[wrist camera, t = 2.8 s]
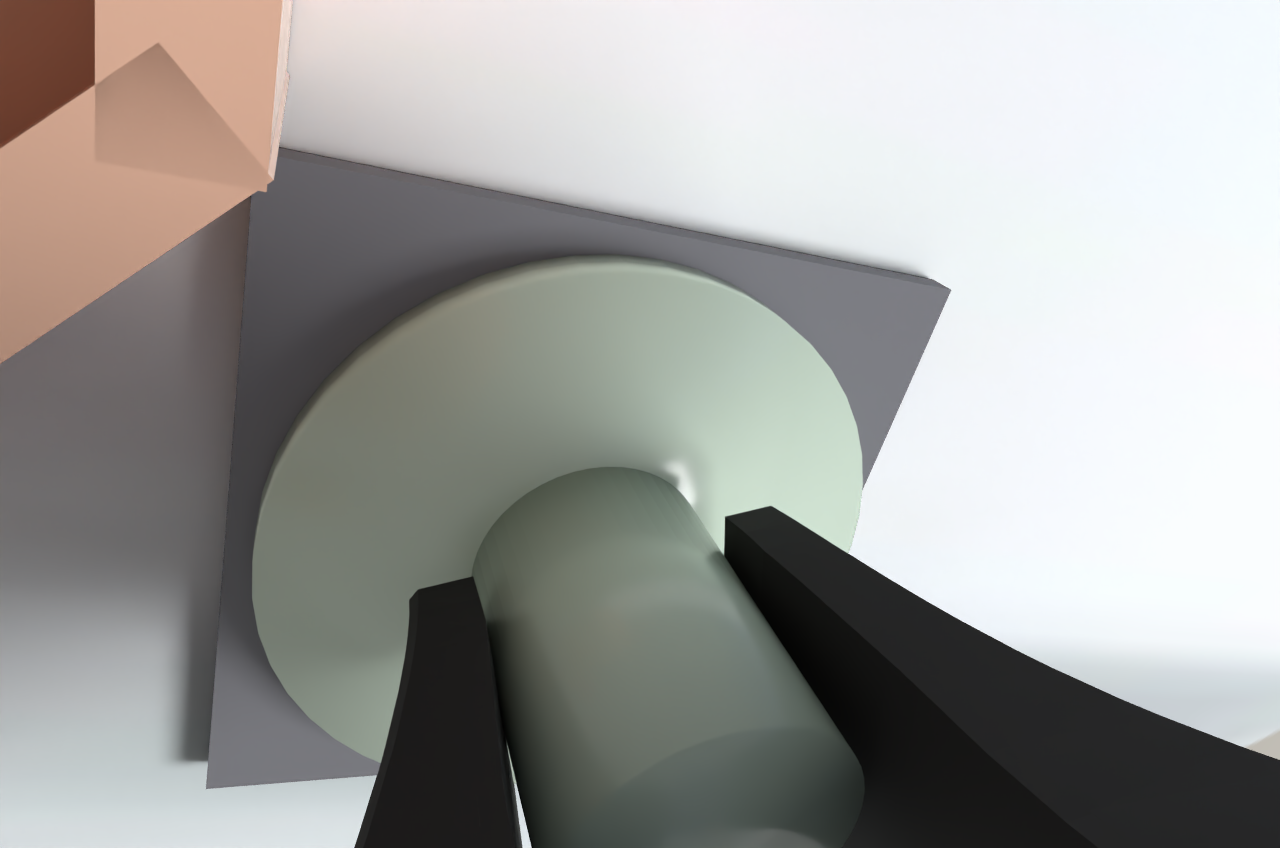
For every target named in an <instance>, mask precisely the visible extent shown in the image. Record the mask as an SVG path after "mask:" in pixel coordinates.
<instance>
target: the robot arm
mask: <svg viewBox="0 0 1280 848" xmlns="http://www.w3.org/2000/svg"><path fill="white" fill-rule="evenodd" d="M724 556H725V558H726V559H727V561H728V562H729V564H730V565H731V567H732V569H733V570H734V572H735V573H736V575H737V576H738V578H739V579H740V581H741V582H742V584H743V585H744V587H745V588H746V590H747V591H748V593H749V594H750V596H751V597H752V599H753V600H754V602H755V603H756V605H757V607H758V608H759V610H760V611H761V613H762V614H763V616H764V617H765V619H766V620H767V622H768V623H769V625H770V626H771V628H772V629H773V631H774V632H775V634H776V635H777V637H778V638H779V640H780V641H781V643H782V645H783V646H784V648H785V649H786V651H787V652H788V654H789V655H790V657H791V658H792V660H793V661H794V663H795V664H796V666H797V667H798V669H799V670H800V672H801V673H802V675H803V676H804V678H805V679H806V681H807V683H808V684H809V686H810V687H811V689H812V690H813V692H814V693H815V695H816V696H817V698H818V699H819V701H820V702H821V704H822V705H823V707H824V708H825V710H826V711H827V713H828V714H829V716H830V718H831V719H832V721H833V722H834V724H835V725H836V727H837V728H838V730H839V731H840V733H841V734H842V736H843V737H844V739H845V740H846V742H847V743H848V745H849V746H850V748H851V749H852V751H853V752H854V754H855V756H856V757H857V759H858V761H859V763H860V765H861V767H862V771H863V775H864V786H865V792H864V799H863V805H862V808H861V811H860V814H859V817H858V820H857V822H856V824H855V826H854V828H853V830H852V832H851V834H850V835H849V837H848V839H847V840H846V842H845V843H844V845H843V847H842V848H1280V760H1278V759H1275V758H1272V757H1269V756H1266V755H1264V754H1261V753H1258V752H1255V751H1252V750H1249V749H1246V748H1244V747H1241V746H1238V745H1236V744H1233V743H1230V742H1228V741H1225V740H1222V739H1220V738H1217V737H1215V736H1212V735H1209V734H1207V733H1204V732H1202V731H1199V730H1196V729H1194V728H1191V727H1189V726H1186V725H1183V724H1181V723H1178V722H1176V721H1173V720H1170V719H1168V718H1165V717H1163V716H1160V715H1158V714H1155V713H1153V712H1150V711H1148V710H1146V709H1143V708H1141V707H1138V706H1136V705H1134V704H1131V703H1129V702H1126V701H1124V700H1122V699H1119V698H1117V697H1115V696H1113V695H1110V694H1108V693H1106V692H1104V691H1102V690H1099V689H1097V688H1095V687H1093V686H1091V685H1088V684H1086V683H1084V682H1082V681H1080V680H1077V679H1075V678H1073V677H1071V676H1069V675H1066V674H1064V673H1062V672H1060V671H1058V670H1055V669H1053V668H1051V667H1049V666H1047V665H1045V664H1043V663H1041V662H1039V661H1037V660H1035V659H1033V658H1031V657H1029V656H1027V655H1025V654H1023V653H1021V652H1019V651H1017V650H1015V649H1013V648H1011V647H1009V646H1007V645H1005V644H1004V643H1002V642H1000V641H998V640H996V639H994V638H992V637H990V636H988V635H987V634H985V633H983V632H981V631H979V630H977V629H975V628H973V627H972V626H970V625H968V624H966V623H964V622H962V621H960V620H959V619H957V618H955V617H953V616H952V615H950V614H948V613H946V612H944V611H943V610H941V609H939V608H937V607H936V606H934V605H932V604H930V603H929V602H927V601H925V600H924V599H922V598H920V597H918V596H917V595H915V594H913V593H912V592H910V591H908V590H907V589H905V588H903V587H902V586H900V585H898V584H897V583H895V582H893V581H892V580H890V579H888V578H887V577H885V576H883V575H882V574H880V573H879V572H877V571H875V570H874V569H872V568H870V567H869V566H867V565H866V564H864V563H862V562H861V561H859V560H858V559H856V558H854V557H853V556H851V555H850V554H848V553H846V552H845V551H843V550H842V549H840V548H839V547H837V546H835V545H834V544H832V543H831V542H829V541H827V540H826V539H824V538H823V537H821V536H820V535H818V534H816V533H815V532H813V531H812V530H810V529H809V528H807V527H805V526H804V525H802V524H801V523H799V522H797V521H796V520H794V519H793V518H791V517H789V516H788V515H786V514H784V513H783V512H781V511H779V510H778V509H776V508H774V507H773V506H767V507H763V508H759V509H755V510H751V511H746V512H742V513H738V514H734V515H729V516H725V537H724ZM354 848H522V841H521V833H520V826H519V818H518V811H517V803H516V795H515V788H514V782H513V776H512V770H511V764H510V758H509V753H508V747H507V741H506V737H505V733H504V728H503V722H502V716H501V709H500V701H499V694H498V688H497V683H496V677H495V671H494V665H493V659H492V653H491V648H490V642H489V636H488V630H487V624H486V619H485V615H484V612H483V608H482V605H481V601H480V597H479V594H478V591H477V587H476V584H475V580H474V577H473V576H472V577H468V578H464V579H459V580H455V581H451V582H447V583H442V584H438V585H434V586H430V587H426V588H421V589H418V590H417V591H416V592H415V593H414V595H413V596H412V597H411V598H410V599H409V626H408V637H407V645H406V652H405V658H404V664H403V669H402V675H401V680H400V686H399V691H398V695H397V699H396V704H395V708H394V712H393V716H392V720H391V724H390V728H389V733H388V737H387V741H386V745H385V749H384V753H383V757H382V760H381V764H380V767H379V771H378V774H377V777H376V781H375V784H374V787H373V790H372V793H371V797H370V800H369V803H368V806H367V809H366V813H365V816H364V819H363V822H362V825H361V829H360V832H359V835H358V838H357V842H356V844H355V847H354Z"/></svg>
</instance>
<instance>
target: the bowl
mask: <svg viewBox="0 0 1280 848" xmlns="http://www.w3.org/2000/svg"><path fill="white" fill-rule="evenodd" d="M292 4H293V0H0V364H1V363H2V362H4V361H5V360H7V359H8V358H10V357H11V356H13V355H14V354H16V353H17V352H19V351H20V350H22V349H23V348H25V347H26V346H28V345H29V344H31V343H32V342H34V341H35V340H37V339H38V338H40V337H41V336H43V335H44V334H46V333H47V332H48V331H50V330H51V329H53V328H54V327H56V326H57V325H59V324H60V323H62V322H63V321H65V320H66V319H68V318H69V317H71V316H72V315H74V314H75V313H77V312H78V311H80V310H81V309H83V308H84V307H86V306H87V305H89V304H90V303H92V302H93V301H95V300H96V299H98V298H99V297H101V296H102V295H104V294H105V293H106V292H108V291H109V290H111V289H112V288H114V287H115V286H117V285H118V284H120V283H121V282H123V281H124V280H126V279H127V278H129V277H130V276H132V275H133V274H135V273H136V272H138V271H139V270H141V269H142V268H144V267H145V266H147V265H148V264H150V263H151V262H153V261H154V260H156V259H157V258H159V257H160V256H162V255H163V254H165V253H166V252H167V251H169V250H170V249H172V248H173V247H175V246H176V245H178V244H179V243H181V242H182V241H184V240H185V239H187V238H188V237H190V236H191V235H193V234H194V233H196V232H197V231H199V230H200V229H202V228H203V227H205V226H206V225H208V224H209V223H211V222H212V221H214V220H215V219H217V218H218V217H220V216H221V215H223V214H224V213H225V212H227V211H228V210H230V209H231V208H233V207H234V206H236V205H237V204H239V203H240V202H242V201H243V200H245V199H246V198H248V197H249V196H251V195H252V194H254V193H255V192H257V191H263V192H267V186H268V184H269V183H270V182H272V181H273V180H274V175H275V169H276V162H277V156H278V149H279V143H280V136H281V130H282V123H283V117H284V110H285V104H286V97H287V91H288V84H289V78H290V75H289V74H288V73H287V61H288V49H289V38H290V27H291V15H292Z"/></svg>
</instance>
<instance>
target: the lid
mask: <svg viewBox="0 0 1280 848" xmlns="http://www.w3.org/2000/svg"><path fill="white" fill-rule="evenodd" d="M862 488H863V473H862V452H861V446H860V441H859V435H858V429H857V425H856V422H855V419H854V416H853V413H852V410H851V408H850V405H849V402H848V399H847V397H846V395H845V393H844V391H843V389H842V388H841V386H840V384H839V382H838V380H837V378H836V377H835V375H834V373H833V371H832V370H831V368H830V367H829V366H828V365H827V363H826V362H825V361H824V360H823V358H822V357H821V356H820V355H819V353H818V352H817V351H816V350H815V348H814V347H813V346H812V345H811V344H810V343H809V342H808V341H807V340H806V339H805V338H803V337H802V336H801V335H800V334H799V333H798V332H797V331H796V330H794V329H793V328H792V327H791V326H790V325H789V324H788V323H786V322H785V321H784V320H783V319H782V318H780V317H779V316H778V315H777V314H776V313H774V312H773V311H772V310H771V309H770V308H768V307H767V306H766V305H765V304H764V303H762V302H761V301H759V300H757V299H756V298H754V297H753V296H751V295H749V294H748V293H746V292H745V291H743V290H741V289H740V288H738V287H737V286H735V285H733V284H731V283H729V282H727V281H724V280H722V279H720V278H717V277H715V276H713V275H710V274H708V273H706V272H703V271H701V270H699V269H695V268H691V267H687V266H684V265H680V264H676V263H672V262H668V261H664V260H661V259H653V258H644V257H636V256H627V255H618V254H613V255H572V256H565V257H559V258H552V259H545V260H539V261H532V262H526V263H523V264H519V265H516V266H512V267H509V268H505V269H502V270H498V271H495V272H491V273H487V274H484V275H481V276H478V277H476V278H474V279H471V280H469V281H467V282H464V283H462V284H459V285H457V286H455V287H452V288H450V289H448V290H445V291H443V292H441V293H438V294H436V295H434V296H433V297H431V298H429V299H427V300H426V301H424V302H422V303H421V304H419V305H417V306H415V307H414V308H412V309H410V310H408V311H407V312H405V313H403V314H402V315H400V316H398V317H396V318H395V319H393V320H392V321H391V322H389V323H388V324H387V325H386V326H384V327H383V328H382V329H380V330H379V331H378V332H376V333H375V334H374V335H372V336H371V337H370V338H369V339H367V340H366V341H365V342H363V343H362V344H361V345H359V346H358V347H357V348H356V349H355V350H354V351H353V352H352V353H351V354H350V355H349V356H348V357H347V358H346V359H345V360H344V361H343V362H342V363H341V364H340V365H339V366H338V367H337V368H336V369H335V370H334V371H333V372H332V373H331V374H330V375H329V376H328V377H327V378H326V379H325V380H324V381H323V382H322V383H321V385H320V386H319V387H318V389H317V390H316V391H315V393H314V394H313V395H312V397H311V398H310V399H309V401H308V402H307V403H306V404H305V406H304V407H303V408H302V410H301V411H300V412H299V414H298V415H297V416H296V418H295V420H294V422H293V424H292V426H291V427H290V429H289V431H288V433H287V435H286V436H285V438H284V440H283V442H282V444H281V446H280V447H279V449H278V451H277V453H276V455H275V458H274V461H273V464H272V466H271V469H270V472H269V475H268V477H267V480H266V483H265V486H264V488H263V491H262V496H261V502H260V507H259V512H258V518H257V523H256V529H255V539H254V549H253V560H252V601H253V606H254V612H255V618H256V623H257V629H258V634H259V637H260V639H261V642H262V644H263V647H264V650H265V652H266V655H267V658H268V660H269V663H270V665H271V667H272V669H273V670H274V672H275V674H276V675H277V677H278V679H279V680H280V682H281V684H282V685H283V687H284V688H285V690H286V692H287V693H288V695H289V696H290V697H291V698H292V699H293V700H294V701H295V703H296V704H297V705H298V706H299V707H300V708H301V709H302V711H303V712H304V713H305V714H306V715H307V716H308V717H309V718H310V719H311V720H312V721H313V722H315V723H316V724H317V725H318V726H319V727H321V728H322V729H323V730H324V731H326V732H327V733H328V734H329V735H330V736H332V737H333V738H334V739H336V740H337V741H339V742H341V743H342V744H344V745H346V746H347V747H349V748H351V749H353V750H354V751H356V752H358V753H359V754H361V755H363V756H365V757H368V758H370V759H372V760H375V761H377V762H379V763H381V760H382V757H383V753H384V749H385V745H386V741H387V737H388V733H389V728H390V724H391V720H392V716H393V712H394V708H395V704H396V699H397V695H398V691H399V686H400V680H401V675H402V669H403V664H404V658H405V652H406V645H407V637H408V626H409V599H410V598H411V597H412V596H413V595H414V593H415V592H416V591H417V590H418V589H421V588H426V587H430V586H434V585H438V584H442V583H447V582H451V581H455V580H459V579H464V578H468V577H472V576H473V577H474V580H475V584H476V587H477V591H478V594H479V597H480V601H481V605H482V608H483V612H484V615H485V619H486V624H487V630H488V636H489V642H490V648H491V653H492V659H493V665H494V671H495V677H496V683H497V688H498V694H499V701H500V709H501V716H502V722H503V728H504V733H505V737H506V741H507V747H508V753H509V758H510V764H511V770H512V776H513V782H514V783H517V787H518V792H519V796H520V800H521V804H522V808H523V813H524V817H525V821H526V825H527V829H528V833H529V838H530V842H531V846H532V848H842V847H843V845H844V843H845V842H846V840H847V839H848V837H849V835H850V834H851V832H852V830H853V828H854V826H855V824H856V822H857V820H858V817H859V814H860V811H861V808H862V805H863V799H864V792H865V786H864V775H863V771H862V767H861V765H860V763H859V761H858V759H857V757H856V756H855V754H854V752H853V751H852V749H851V748H850V746H849V745H848V743H847V742H846V740H845V739H844V737H843V736H842V734H841V733H840V731H839V730H838V728H837V727H836V725H835V724H834V722H833V721H832V719H831V718H830V716H829V714H828V713H827V711H826V710H825V708H824V707H823V705H822V704H821V702H820V701H819V699H818V698H817V696H816V695H815V693H814V692H813V690H812V689H811V687H810V686H809V684H808V683H807V681H806V679H805V678H804V676H803V675H802V673H801V672H800V670H799V669H798V667H797V666H796V664H795V663H794V661H793V660H792V658H791V657H790V655H789V654H788V652H787V651H786V649H785V648H784V646H783V645H782V643H781V641H780V640H779V638H778V637H777V635H776V634H775V632H774V631H773V629H772V628H771V626H770V625H769V623H768V622H767V620H766V619H765V617H764V616H763V614H762V613H761V611H760V610H759V608H758V607H757V605H756V603H755V602H754V600H753V599H752V597H751V596H750V594H749V593H748V591H747V590H746V588H745V587H744V585H743V584H742V582H741V581H740V579H739V578H738V576H737V575H736V573H735V572H734V570H733V569H732V567H731V565H730V564H729V562H728V561H727V559H726V558H725V556H724V537H725V516H729V515H734V514H738V513H742V512H746V511H751V510H755V509H759V508H763V507H767V506H773V507H774V508H776V509H778V510H779V511H781V512H783V513H784V514H786V515H788V516H789V517H791V518H793V519H794V520H796V521H797V522H799V523H801V524H802V525H804V526H805V527H807V528H809V529H810V530H812V531H813V532H815V533H816V534H818V535H820V536H821V537H823V538H824V539H826V540H827V541H829V542H831V543H832V544H834V545H835V546H837V547H839V548H840V549H842V550H843V551H845V552H846V553H849V550H850V547H851V545H852V541H853V537H854V533H855V530H856V526H857V522H858V518H859V513H860V504H861V496H862Z"/></svg>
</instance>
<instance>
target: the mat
mask: <svg viewBox="0 0 1280 848" xmlns="http://www.w3.org/2000/svg"><path fill="white" fill-rule="evenodd" d="M613 254H618V255H627V256H636V257H644V258H653V259H661V260H664V261H668V262H672V263H676V264H680V265H684V266H687V267H691V268H695V269H699V270H701V271H703V272H706V273H708V274H710V275H713V276H715V277H717V278H720V279H722V280H724V281H727V282H729V283H731V284H733V285H735V286H737V287H738V288H740V289H741V290H743V291H745V292H746V293H748V294H749V295H751V296H753V297H754V298H756V299H757V300H759V301H761V302H762V303H764V304H765V305H766V306H767V307H768V308H770V309H771V310H772V311H773V312H774V313H776V314H777V315H778V316H779V317H780V318H782V319H783V320H784V321H785V322H786V323H788V324H789V325H790V326H791V327H792V328H793V329H794V330H796V331H797V332H798V333H799V334H800V335H801V336H802V337H803V338H805V339H806V340H807V341H808V342H809V343H810V344H811V345H812V346H813V347H814V348H815V350H816V351H817V352H818V353H819V355H820V356H821V357H822V358H823V360H824V361H825V362H826V363H827V365H828V366H829V367H830V368H831V370H832V371H833V373H834V375H835V377H836V378H837V380H838V382H839V384H840V386H841V388H842V389H843V391H844V393H845V395H846V397H847V399H848V402H849V405H850V408H851V410H852V413H853V416H854V419H855V422H856V425H857V429H858V435H859V441H860V446H861V452H862V473H863V488H864V485H865V483H866V481H867V479H868V476H869V474H870V472H871V470H872V467H873V465H874V463H875V461H876V458H877V456H878V454H879V452H880V449H881V447H882V445H883V443H884V440H885V438H886V436H887V434H888V431H889V429H890V427H891V425H892V422H893V420H894V418H895V416H896V413H897V411H898V409H899V407H900V404H901V402H902V400H903V398H904V395H905V393H906V391H907V388H908V386H909V384H910V382H911V379H912V377H913V375H914V373H915V370H916V368H917V366H918V364H919V361H920V359H921V357H922V355H923V352H924V350H925V348H926V346H927V343H928V341H929V339H930V337H931V334H932V332H933V330H934V328H935V325H936V323H937V321H938V319H939V316H940V314H941V312H942V310H943V307H944V305H945V303H946V301H947V298H948V296H949V294H950V292H951V290H950V289H949V288H947V287H945V286H943V285H942V284H940V283H938V282H936V281H935V280H932V279H927V278H922V277H917V276H912V275H908V274H903V273H898V272H893V271H888V270H883V269H878V268H873V267H868V266H863V265H858V264H853V263H848V262H843V261H838V260H833V259H828V258H823V257H818V256H813V255H808V254H804V253H799V252H794V251H789V250H784V249H779V248H774V247H769V246H764V245H759V244H754V243H749V242H744V241H739V240H734V239H729V238H724V237H719V236H714V235H709V234H704V233H700V232H695V231H690V230H685V229H680V228H675V227H670V226H665V225H660V224H655V223H650V222H645V221H640V220H635V219H630V218H625V217H620V216H615V215H610V214H605V213H601V212H596V211H591V210H586V209H581V208H576V207H571V206H566V205H561V204H556V203H551V202H546V201H541V200H536V199H531V198H526V197H521V196H516V195H511V194H506V193H501V192H497V191H492V190H487V189H482V188H477V187H472V186H467V185H462V184H457V183H452V182H447V181H442V180H437V179H432V178H427V177H422V176H417V175H412V174H407V173H402V172H397V171H393V170H388V169H383V168H378V167H373V166H368V165H363V164H358V163H353V162H348V161H343V160H338V159H333V158H328V157H323V156H318V155H313V154H308V153H303V152H298V151H294V150H289V149H284V148H279V149H278V156H277V162H276V169H275V175H274V180H273V181H272V182H270V183H269V184H268V186H267V192H263V191H257V192H255V193H254V194H252V195H251V208H250V221H249V234H248V247H247V260H246V274H245V287H244V300H243V313H242V326H241V339H240V352H239V365H238V378H237V391H236V404H235V417H234V431H233V444H232V457H231V470H230V483H229V496H228V509H227V522H226V535H225V548H224V561H223V574H222V587H221V601H220V614H219V627H218V640H217V653H216V666H215V679H214V692H213V705H212V718H211V731H210V744H209V758H208V771H207V784H206V789H210V788H223V787H235V786H248V785H260V784H272V783H285V782H297V781H310V780H322V779H335V778H347V777H359V776H372V775H377V774H378V771H379V767H380V764H381V763H379V762H377V761H375V760H372V759H370V758H368V757H365V756H363V755H361V754H359V753H358V752H356V751H354V750H353V749H351V748H349V747H347V746H346V745H344V744H342V743H341V742H339V741H337V740H336V739H334V738H333V737H332V736H330V735H329V734H328V733H327V732H326V731H324V730H323V729H322V728H321V727H319V726H318V725H317V724H316V723H315V722H313V721H312V720H311V719H310V718H309V717H308V716H307V715H306V714H305V713H304V712H303V711H302V709H301V708H300V707H299V706H298V705H297V704H296V703H295V701H294V700H293V699H292V698H291V697H290V696H289V695H288V693H287V692H286V690H285V688H284V687H283V685H282V684H281V682H280V680H279V679H278V677H277V675H276V674H275V672H274V670H273V669H272V667H271V665H270V663H269V660H268V658H267V655H266V652H265V650H264V647H263V644H262V642H261V639H260V637H259V634H258V629H257V623H256V618H255V612H254V606H253V601H252V560H253V549H254V539H255V529H256V523H257V518H258V512H259V507H260V502H261V496H262V491H263V488H264V486H265V483H266V480H267V477H268V475H269V472H270V469H271V466H272V464H273V461H274V458H275V455H276V453H277V451H278V449H279V447H280V446H281V444H282V442H283V440H284V438H285V436H286V435H287V433H288V431H289V429H290V427H291V426H292V424H293V422H294V420H295V418H296V416H297V415H298V414H299V412H300V411H301V410H302V408H303V407H304V406H305V404H306V403H307V402H308V401H309V399H310V398H311V397H312V395H313V394H314V393H315V391H316V390H317V389H318V387H319V386H320V385H321V383H322V382H323V381H324V380H325V379H326V378H327V377H328V376H329V375H330V374H331V373H332V372H333V371H334V370H335V369H336V368H337V367H338V366H339V365H340V364H341V363H342V362H343V361H344V360H345V359H346V358H347V357H348V356H349V355H350V354H351V353H352V352H353V351H354V350H355V349H356V348H357V347H358V346H359V345H361V344H362V343H363V342H365V341H366V340H367V339H369V338H370V337H371V336H372V335H374V334H375V333H376V332H378V331H379V330H380V329H382V328H383V327H384V326H386V325H387V324H388V323H389V322H391V321H392V320H393V319H395V318H396V317H398V316H400V315H402V314H403V313H405V312H407V311H408V310H410V309H412V308H414V307H415V306H417V305H419V304H421V303H422V302H424V301H426V300H427V299H429V298H431V297H433V296H434V295H436V294H438V293H441V292H443V291H445V290H448V289H450V288H452V287H455V286H457V285H459V284H462V283H464V282H467V281H469V280H471V279H474V278H476V277H478V276H481V275H484V274H487V273H491V272H495V271H498V270H502V269H505V268H509V267H512V266H516V265H519V264H523V263H526V262H532V261H539V260H545V259H552V258H559V257H565V256H572V255H613ZM863 488H862V490H863Z"/></svg>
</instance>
